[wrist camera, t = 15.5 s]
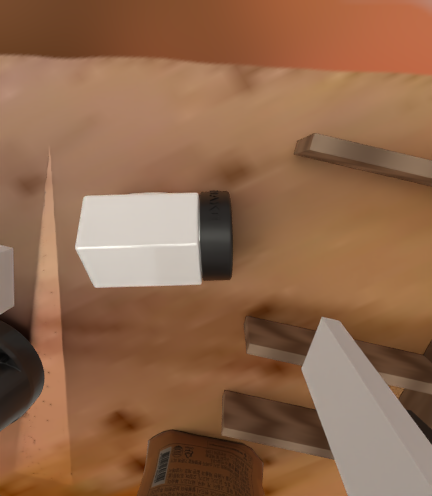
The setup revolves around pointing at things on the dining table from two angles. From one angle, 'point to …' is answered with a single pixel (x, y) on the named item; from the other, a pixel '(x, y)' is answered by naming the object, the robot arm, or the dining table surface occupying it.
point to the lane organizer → (299, 339)
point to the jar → (156, 238)
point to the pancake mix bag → (200, 467)
